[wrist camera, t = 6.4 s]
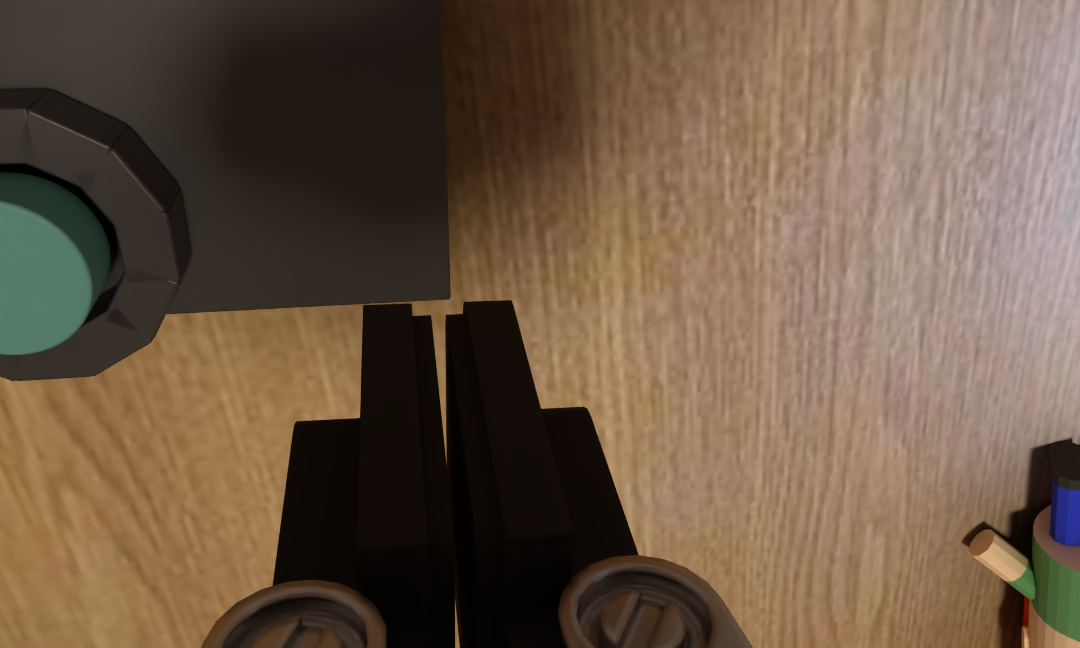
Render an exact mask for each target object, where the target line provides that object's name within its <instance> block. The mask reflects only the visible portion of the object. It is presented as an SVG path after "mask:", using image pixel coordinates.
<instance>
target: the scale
mask: <svg viewBox="0 0 1080 648" xmlns="http://www.w3.org/2000/svg"><path fill="white" fill-rule="evenodd" d="M1 172H13V173H22V174H29V175H33V176H37V177H41V178H43V179H46V180H49V181H52V182H54V183H56V184H58V185H60V186H62V187H63V188H65V189H67V190H68V191H70V192H71V193H73V194H74V195H75V196H77V197H78V198H79V199H80V200H82V201H83V202H84V203H85V204H86V205H87V206H88V207H89V208H90V210H91V211H92V212H93V213H94V215H95V216H96V217H97V219H98V220H99V222H100V224H101V225H102V227H103V229H104V232H105V234H106V236H107V239H108V243H109V246H110V253H111V266H110V272H109V276H108V279H107V282H106V284H105V286H104V288H103V289H102V291H101V293H100V295H99V296H98V298H97V300H96V302H95V304H94V305H93V307H92V309H91V311H90V312H89V314H88V316H87V318H86V319H85V321H84V323H83V324H82V325H81V327H80V328H79V329H78V330H77V331H76V332H75V333H74V334H73V335H72V336H71V337H70V338H68V339H67V340H65V341H64V342H62V343H61V344H59V345H57V346H55V347H52V348H50V349H47V350H44V351H41V352H36V353H32V354H24V355H4V354H0V377H3V378H6V379H8V380H11V381H15V380H16V381H27V380H44V379H60V378H77V377H90V376H96V375H97V374H99V373H101V372H102V371H104V370H106V369H107V368H109V367H111V366H112V365H114V364H116V363H117V362H119V361H121V360H122V359H124V358H126V357H127V356H129V355H131V354H133V353H134V352H136V351H138V350H139V349H141V348H143V347H144V346H146V345H148V344H149V343H151V342H152V340H153V339H154V338H155V336H156V334H157V332H158V330H159V328H160V325H161V323H162V321H163V319H164V317H165V315H166V314H178V313H197V312H217V311H236V310H255V309H274V308H293V307H312V306H331V305H350V304H369V303H388V302H408V301H427V300H446V299H450V297H451V292H450V259H449V225H448V192H447V158H446V125H445V91H444V57H443V24H442V0H0V173H1Z"/></svg>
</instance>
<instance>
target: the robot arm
mask: <svg viewBox="0 0 1080 648" xmlns="http://www.w3.org/2000/svg"><path fill="white" fill-rule="evenodd" d="M445 331H446V441H447V465H446V455H445V445H444V436H443V426H442V416H441V407H440V397H439V387H438V378H437V368H436V358H435V349H434V339H433V329H432V320H431V315H428V316H412V304H385V305H363V333H362V369H361V406H360V418H354V419H334V420H315V421H297V422H296V423H295V425H294V430H293V436H292V443H291V451H290V458H289V466H288V474H287V481H286V489H285V496H284V504H283V511H282V519H281V526H280V534H279V541H278V549H277V557H276V564H275V572H274V579H273V586H271V587H268V588H265V589H261V590H259V591H257V592H255V593H254V594H252V595H250V596H248V597H246V598H245V599H243V600H241V601H239V602H237V603H236V604H235V605H233V606H232V607H231V608H230V609H229V610H228V611H227V612H226V613H225V614H224V615H223V616H222V617H220V618H219V619H218V620H217V621H216V622H215V624H214V626H213V627H212V629H211V631H210V632H209V634H208V636H207V637H206V639H205V641H204V642H203V644H202V647H201V648H455V602H456V612H457V623H458V633H459V643H460V648H753V647H752V646H751V644H750V642H749V641H748V639H747V638H746V636H745V635H744V633H743V631H742V630H741V628H740V627H739V625H738V624H737V622H736V620H735V619H734V617H733V616H732V614H731V613H730V611H729V609H728V608H727V606H726V605H725V603H724V602H723V600H722V599H721V597H720V596H719V595H718V594H717V593H716V592H715V591H714V589H713V588H712V587H711V586H710V585H709V584H708V582H707V581H705V580H704V579H702V578H701V577H699V576H698V575H696V574H695V573H693V572H692V571H690V570H689V569H687V568H685V567H683V566H680V565H677V564H675V563H672V562H669V561H667V560H664V559H660V558H653V557H647V556H640V555H638V552H637V549H636V546H635V543H634V540H633V537H632V534H631V531H630V529H629V526H628V523H627V520H626V517H625V514H624V511H623V508H622V505H621V502H620V499H619V497H618V494H617V491H616V488H615V485H614V482H613V479H612V476H611V473H610V470H609V467H608V465H607V462H606V459H605V456H604V453H603V450H602V447H601V444H600V441H599V438H598V436H597V433H596V430H595V427H594V424H593V421H592V418H591V416H590V413H589V411H588V409H587V408H585V407H569V408H549V409H541V407H540V404H539V400H538V396H537V392H536V389H535V385H534V381H533V377H532V374H531V370H530V366H529V362H528V359H527V355H526V351H525V347H524V344H523V340H522V336H521V332H520V329H519V325H518V321H517V317H516V314H515V310H514V306H513V303H512V300H505V301H475V302H464V305H463V314H456V315H446V322H445Z"/></svg>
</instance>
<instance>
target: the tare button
mask: <svg viewBox="0 0 1080 648" xmlns="http://www.w3.org/2000/svg"><path fill="white" fill-rule="evenodd" d="M110 266H111V253H110V246H109V243H108V239H107V236H106V234H105V232H104V229H103V227H102V225H101V224H100V222H99V220H98V219H97V217H96V216H95V215H94V213H93V212H92V211H91V210H90V208H89V207H88V206H87V205H86V204H85V203H84V202H83V201H82V200H80V199H79V198H78V197H77V196H75V195H74V194H73V193H71V192H70V191H68V190H67V189H65V188H63V187H62V186H60V185H58V184H56V183H54V182H52V181H49V180H46V179H43V178H41V177H37V176H33V175H29V174H22V173H13V172H1V173H0V354H4V355H24V354H32V353H36V352H41V351H44V350H47V349H50V348H52V347H55V346H57V345H59V344H61V343H62V342H64V341H65V340H67V339H68V338H70V337H71V336H72V335H73V334H74V333H75V332H76V331H77V330H78V329H79V328H80V327H81V325H82V324H83V323H84V321H85V319H86V318H87V316H88V314H89V312H90V311H91V309H92V307H93V305H94V304H95V302H96V300H97V298H98V296H99V295H100V293H101V291H102V289H103V288H104V286H105V284H106V282H107V279H108V276H109V272H110Z"/></svg>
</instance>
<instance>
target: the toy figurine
mask: <svg viewBox="0 0 1080 648" xmlns="http://www.w3.org/2000/svg"><path fill="white" fill-rule="evenodd" d="M1048 462H1049V466H1050V470H1051V474H1052V478H1053V485H1052V502H1051V505H1050V506H1048V507H1046V508H1045V509H1044V510H1042V511H1041V512H1040V513H1039V514H1038V516H1037V517H1036V519H1035V522H1034V525H1033V541H1032V560H1030V559H1029V558H1028V557H1026V556H1025V555H1024V554H1022V553H1021V552H1020V551H1019V550H1017V549H1016V548H1015V547H1013V546H1012V545H1011V544H1009V543H1008V542H1007V541H1005V540H1004V539H1003V538H1002V537H1000V536H999V535H998V534H996V533H995V532H994V531H992V530H983V531H982V532H980V533H978V534H977V535H976V536H975V537H974V539H973V540H972V542H971V543H970V548H969V552H970V553H971V555H972V556H973V557H974V558H976V559H977V560H978V561H980V562H981V563H982V564H984V565H985V566H986V567H988V568H989V569H990V570H992V571H993V572H994V573H996V574H997V575H998V576H999V577H1001V578H1002V579H1003V580H1005V581H1006V582H1007V583H1009V584H1010V585H1011V586H1013V587H1014V588H1015V589H1017V590H1018V591H1019V592H1021V593H1022V594H1023V595H1024V619H1023V626H1022V645H1021V646H1022V648H1080V445H1077V444H1074V443H1072V442H1058V443H1056V444H1053V445H1051V446H1050V449H1049V455H1048Z"/></svg>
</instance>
